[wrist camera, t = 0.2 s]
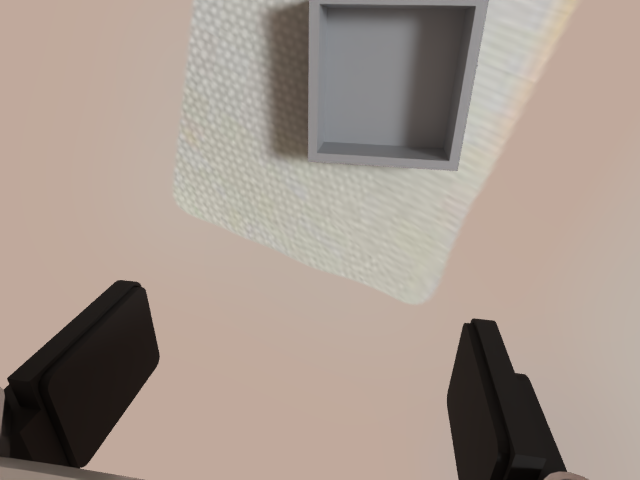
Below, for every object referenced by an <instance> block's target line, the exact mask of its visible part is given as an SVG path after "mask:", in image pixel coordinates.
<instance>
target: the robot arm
mask: <svg viewBox="0 0 640 480" xmlns="http://www.w3.org/2000/svg"><path fill="white" fill-rule="evenodd" d="M159 357H160V356H159V350H158V345H157V341H156V336H155V331H154V327H153V322H152V317H151V313H150V308H149V303H148V299H147V294H146V290H145V289H144V288H142V287H141V285H140V284H139V283H138V282H133V281H123V280H119V281H116V282H115V283H114V284H113V285H111V286H110V287H109V288H108V289H107V290H106V291H105V292H104V293H102V294H101V296H99V297H98V298H97V299H96V300H95V301H94V302H92V303H91V304H90V305H89V306H88V307H87V308H86V309H84V310H83V311H82V312H81V313H80V314H79V315H78V316H77V317H76V318H74V319H73V320H72V321H71V322H70V323H69V324H68V325H67V326H66V327H64V328H63V329H62V330H61V331H60V332H59V333H58V334H56V335H55V336H54V337H53V338H52V339H51V340H50V341H49V342H47V343H46V344H45V345H44V346H43V347H42V348H41V349H40V350H38V352H36V353H35V354H34V355H33V356H32V357H31V358H30V359H28V360H27V361H26V362H25V363H24V364H23V365H22V366H20V367H19V368H18V369H17V370H16V371H15V372H14V373H13V374H12V375H10V376H9V377H8V378H7V379H8V382H9V385H8V386H7V387H6V388H5V389H4V390H3V389H2V388H1V387H0V480H143V479H137V478H131V477H126V476H119V475H114V474H108V473H102V472H96V471H90V470H84V469H80V467H84V466H86V465H87V464H88V462H89V461H90V460H91V458H92V457H93V456H94V454H95V453H96V451H97V450H98V449H99V447H100V446H101V444H102V443H103V442H104V440H105V439H106V437H107V436H108V434H109V433H110V432H111V430H112V429H113V427H114V426H115V425H116V423H117V422H118V420H119V419H120V418H121V416H122V415H123V413H124V412H125V410H126V409H127V408H128V406H129V405H130V403H131V402H132V401H133V399H134V398H135V396H136V395H137V394H138V392H139V391H140V389H141V388H142V386H143V385H144V384H145V382H146V381H147V380H148V378H149V376H150V375H151V374H152V372H153V371H154V370H155V368H156V367H157V364H158V362H159ZM447 408H448V414H449V420H450V427H451V433H452V440H453V446H454V453H455V459H456V466H457V472H458V478H459V480H588V479H586V478H585V477H583V476H580V475H577V474H574V473H571V472H567V470H566V468H565V465H564V463H563V460H562V458H561V455H560V453H559V451H558V448H557V446H556V443H555V441H554V438H553V436H552V433H551V431H550V428H549V426H548V424H547V421H546V419H545V416H544V414H543V411H542V409H541V407H540V404H539V401H538V399H537V397H536V394H535V392H534V389H533V387H532V384H531V382H530V380H529V378H528V377H527V376H526V375H525V374H518V373H515V372H514V370H513V367H512V364H511V362H510V359H509V356H508V354H507V351H506V348H505V345H504V343H503V340H502V337H501V335H500V332H499V330H498V327H497V324H496V322H495V321H492V320H482V319H472V320H471V323H464V325H463V328H462V333H461V337H460V342H459V345H458V350H457V354H456V359H455V363H454V368H453V372H452V376H451V380H450V385H449V389H448V394H447Z"/></svg>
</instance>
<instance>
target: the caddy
mask: <svg viewBox="0 0 640 480" xmlns="http://www.w3.org/2000/svg"><path fill="white" fill-rule="evenodd" d="M488 2H489V0H309V74H308V161H310V162H326V163H341V164H356V165H372V166H387V167H403V168H418V169H434V170H449V171H458V165H459V160H460V154H461V149H462V144H463V138H464V133H465V127H466V122H467V116H468V111H469V105H470V100H471V95H472V89H473V84H474V78H475V73H476V67H477V62H478V56H479V51H480V46H481V40H482V35H483V29H484V24H485V18H486V13H487V7H488Z"/></svg>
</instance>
